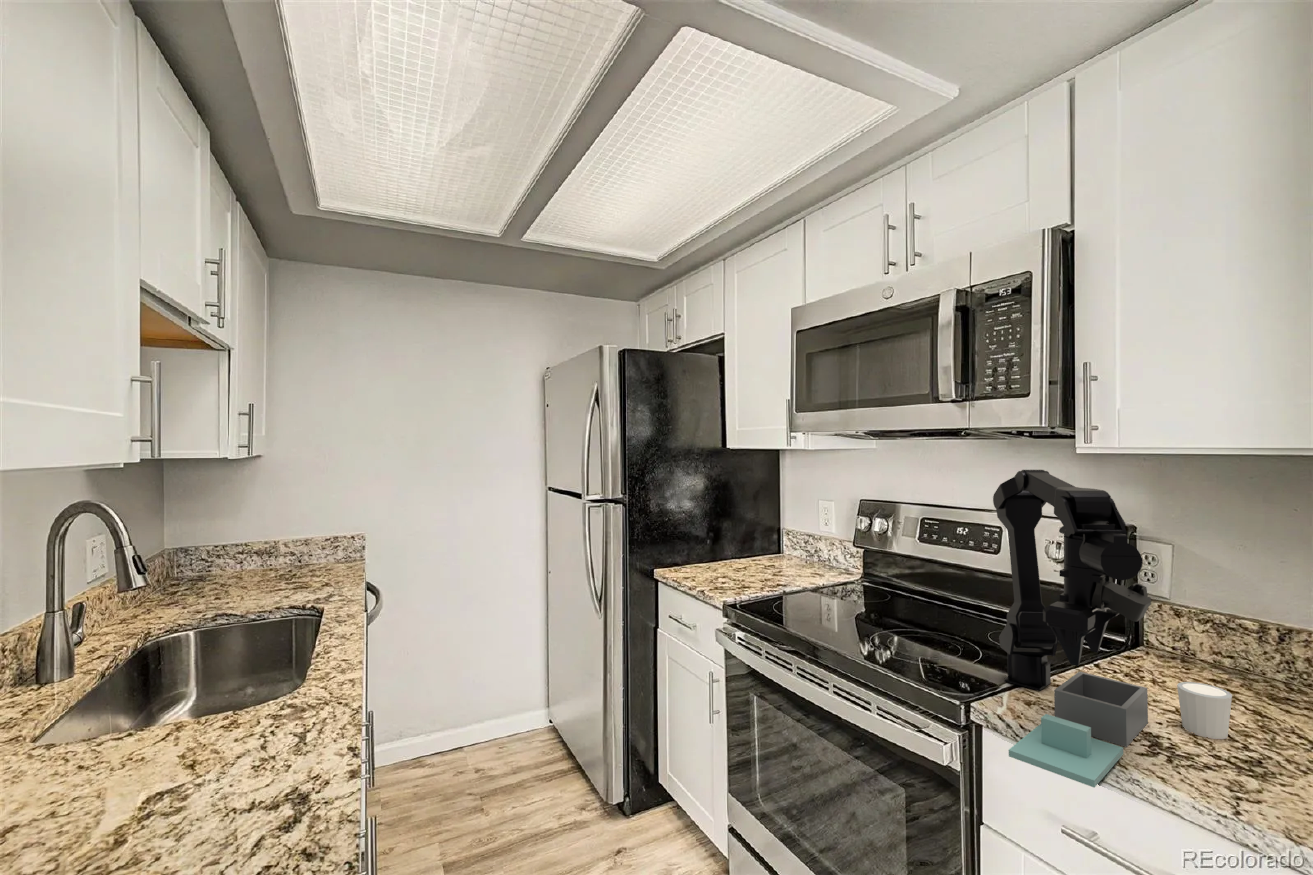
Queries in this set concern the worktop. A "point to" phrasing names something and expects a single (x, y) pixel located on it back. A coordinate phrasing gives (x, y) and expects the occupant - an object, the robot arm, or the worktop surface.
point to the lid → (1067, 751)
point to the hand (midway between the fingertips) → (1084, 658)
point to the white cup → (1204, 709)
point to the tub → (1103, 706)
